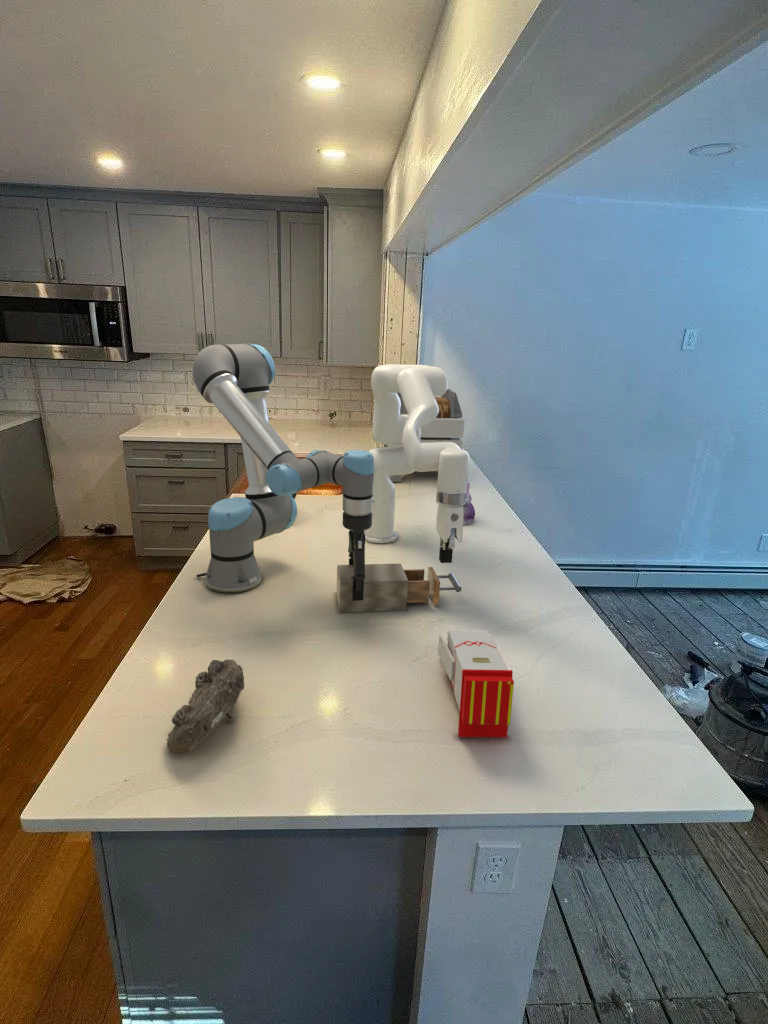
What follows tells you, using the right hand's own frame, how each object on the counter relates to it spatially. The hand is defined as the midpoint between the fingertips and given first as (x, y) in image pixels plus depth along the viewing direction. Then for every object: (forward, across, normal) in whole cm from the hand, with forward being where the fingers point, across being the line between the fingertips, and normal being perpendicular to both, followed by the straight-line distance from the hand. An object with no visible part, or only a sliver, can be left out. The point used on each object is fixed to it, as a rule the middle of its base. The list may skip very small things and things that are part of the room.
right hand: (445, 561), depth 152 cm
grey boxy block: (+11, 0, +20) cm, 23 cm away
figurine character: (+11, +66, +43) cm, 80 cm away
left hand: (+8, 0, +24) cm, 25 cm away
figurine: (+11, +59, -23) cm, 65 cm away
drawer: (+10, 0, +7) cm, 13 cm away
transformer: (+11, +125, -20) cm, 127 cm away
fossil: (+11, -42, +56) cm, 71 cm away
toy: (+11, -40, +4) cm, 42 cm away
